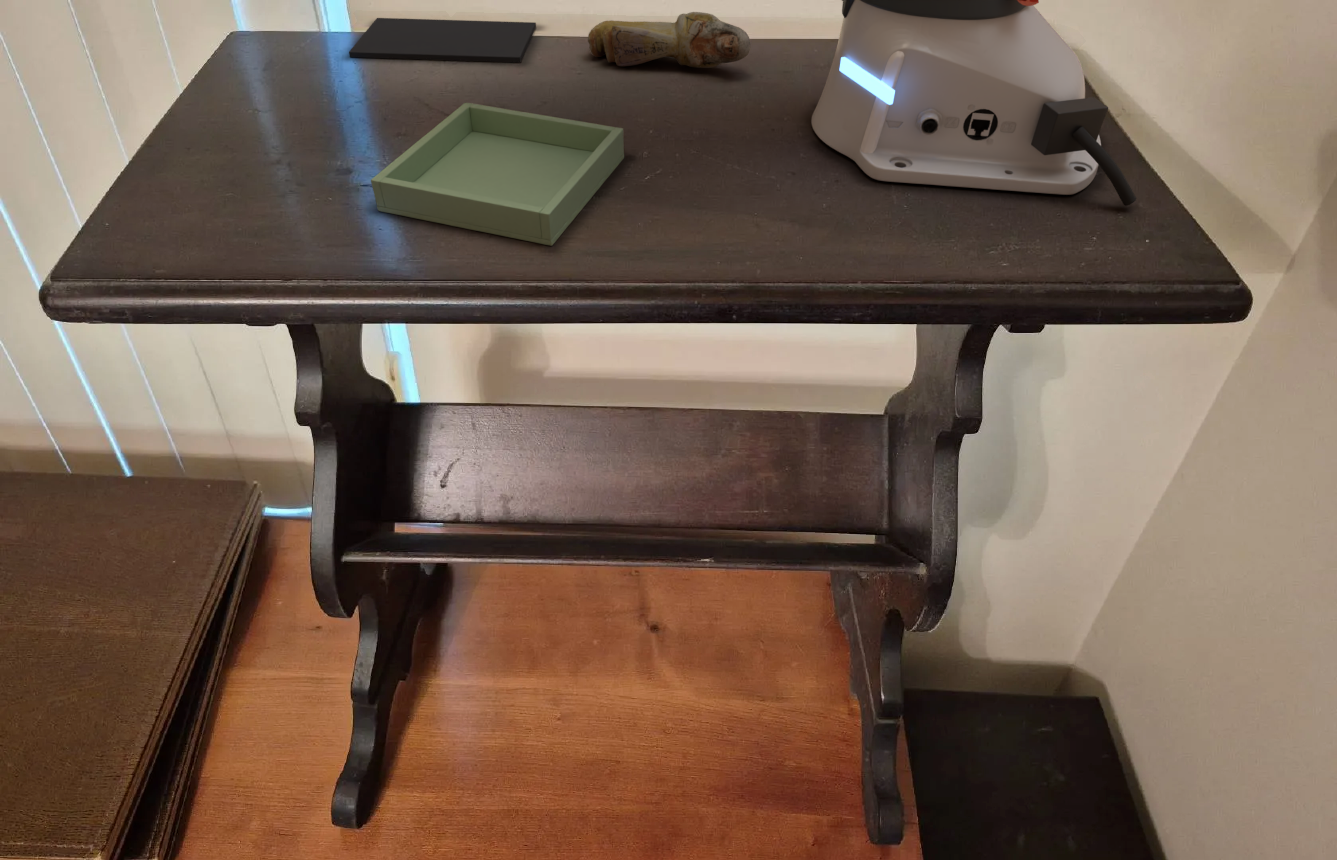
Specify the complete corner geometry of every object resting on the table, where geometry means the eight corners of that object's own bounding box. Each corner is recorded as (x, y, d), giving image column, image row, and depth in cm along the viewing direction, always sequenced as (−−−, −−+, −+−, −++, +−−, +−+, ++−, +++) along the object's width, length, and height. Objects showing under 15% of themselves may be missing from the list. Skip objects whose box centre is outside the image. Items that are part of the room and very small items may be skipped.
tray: (624, 157, 68) (623, 127, 66) (551, 246, 59) (549, 214, 57) (469, 130, 71) (465, 101, 69) (377, 210, 62) (369, 179, 60)
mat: (536, 27, 88) (535, 22, 87) (520, 62, 81) (519, 57, 81) (378, 22, 88) (376, 17, 88) (349, 57, 82) (348, 51, 81)
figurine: (576, 40, 79) (733, 40, 73) (595, -4, 81) (750, -7, 75) (596, 83, 83) (745, 87, 78) (614, 41, 85) (761, 41, 80)
